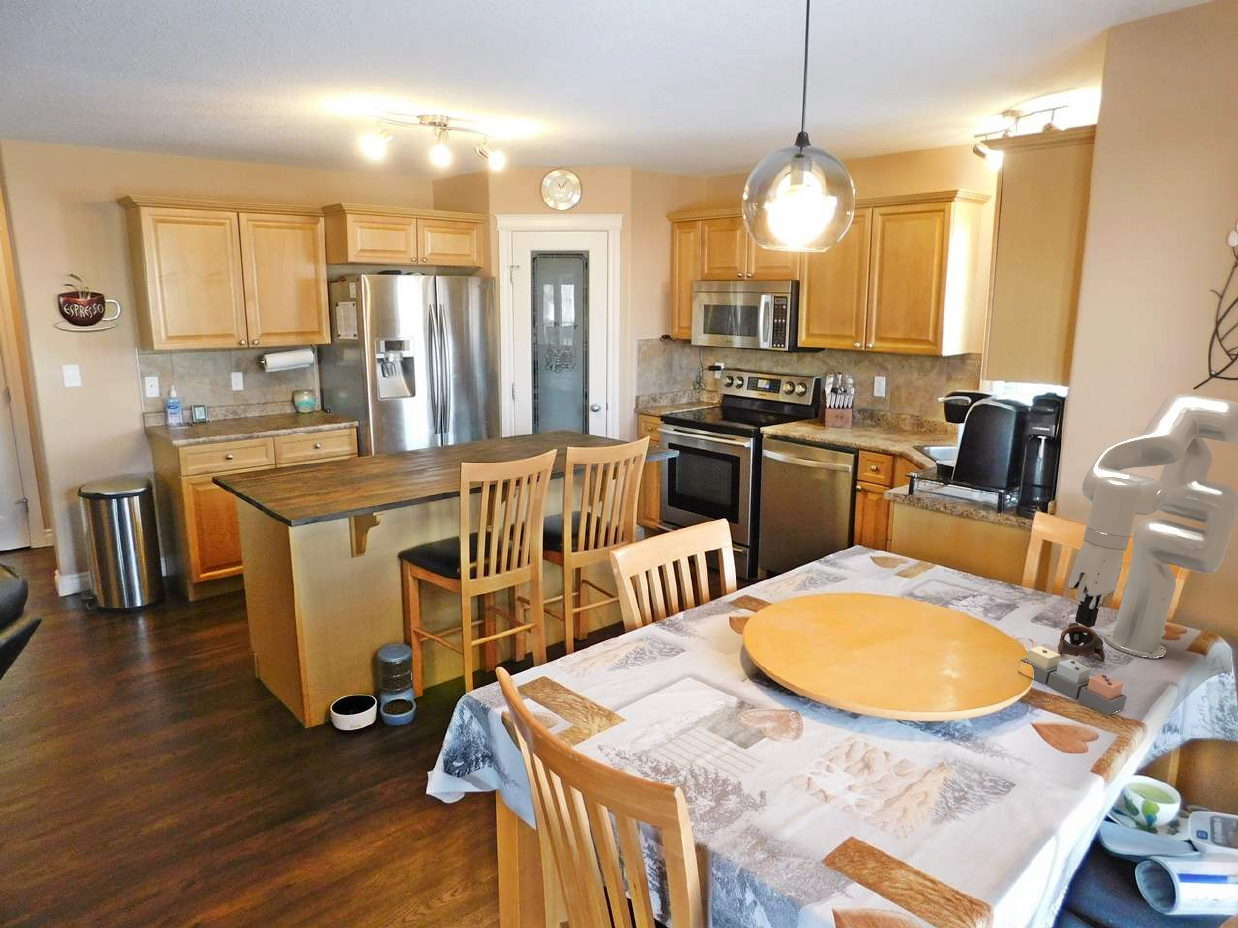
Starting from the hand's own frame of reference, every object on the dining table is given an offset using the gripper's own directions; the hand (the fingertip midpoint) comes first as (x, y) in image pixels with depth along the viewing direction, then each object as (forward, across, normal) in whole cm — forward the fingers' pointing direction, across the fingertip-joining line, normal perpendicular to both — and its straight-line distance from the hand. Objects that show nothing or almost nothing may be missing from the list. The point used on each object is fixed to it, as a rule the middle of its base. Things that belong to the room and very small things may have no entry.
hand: (1084, 624), depth 164 cm
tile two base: (+15, -1, 0) cm, 15 cm away
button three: (+14, -1, +6) cm, 15 cm away
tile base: (+15, -1, +6) cm, 16 cm away
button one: (+13, -1, -7) cm, 15 cm away
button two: (+13, -1, 0) cm, 14 cm away
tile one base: (+15, -1, -7) cm, 16 cm away
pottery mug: (+15, -20, -9) cm, 27 cm away
